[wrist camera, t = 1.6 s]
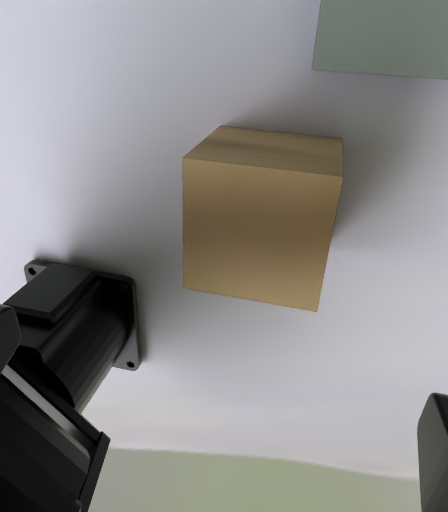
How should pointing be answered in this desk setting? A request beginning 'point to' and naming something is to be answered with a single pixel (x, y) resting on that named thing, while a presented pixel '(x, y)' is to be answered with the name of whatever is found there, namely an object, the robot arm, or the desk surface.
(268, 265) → the walnut block
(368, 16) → the blueprint plate
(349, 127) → the desk surface
